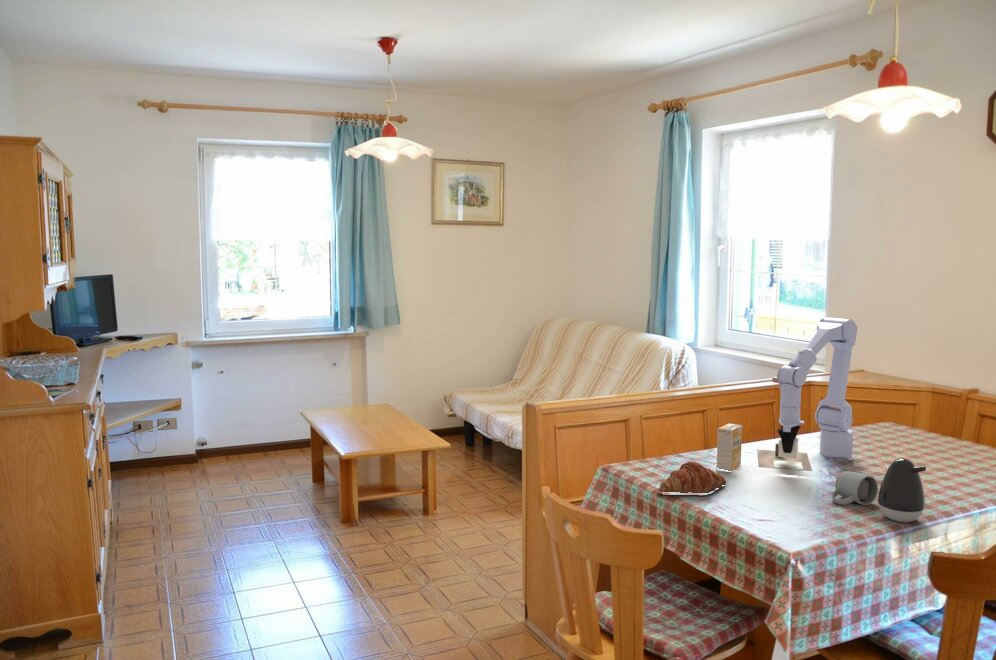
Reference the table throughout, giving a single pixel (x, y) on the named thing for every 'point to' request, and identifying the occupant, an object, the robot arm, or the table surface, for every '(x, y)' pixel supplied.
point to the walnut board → (783, 460)
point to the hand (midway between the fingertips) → (788, 450)
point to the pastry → (692, 479)
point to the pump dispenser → (902, 491)
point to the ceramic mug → (855, 488)
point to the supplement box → (729, 446)
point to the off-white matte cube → (793, 453)
